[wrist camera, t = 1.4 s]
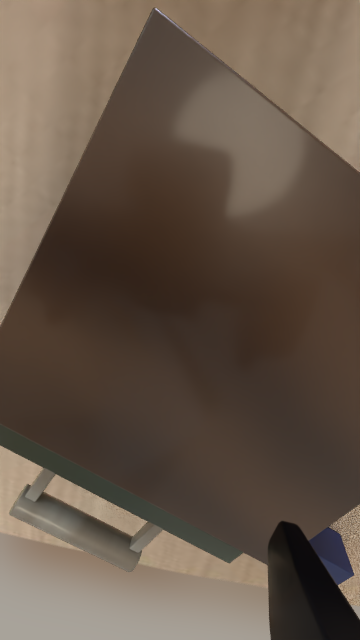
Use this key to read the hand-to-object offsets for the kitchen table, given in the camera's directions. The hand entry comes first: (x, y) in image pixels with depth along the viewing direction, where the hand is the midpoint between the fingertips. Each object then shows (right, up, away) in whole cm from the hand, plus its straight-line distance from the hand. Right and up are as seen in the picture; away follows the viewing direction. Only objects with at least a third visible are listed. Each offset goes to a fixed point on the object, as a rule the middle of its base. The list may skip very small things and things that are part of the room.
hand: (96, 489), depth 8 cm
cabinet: (+4, +6, +11) cm, 13 cm away
